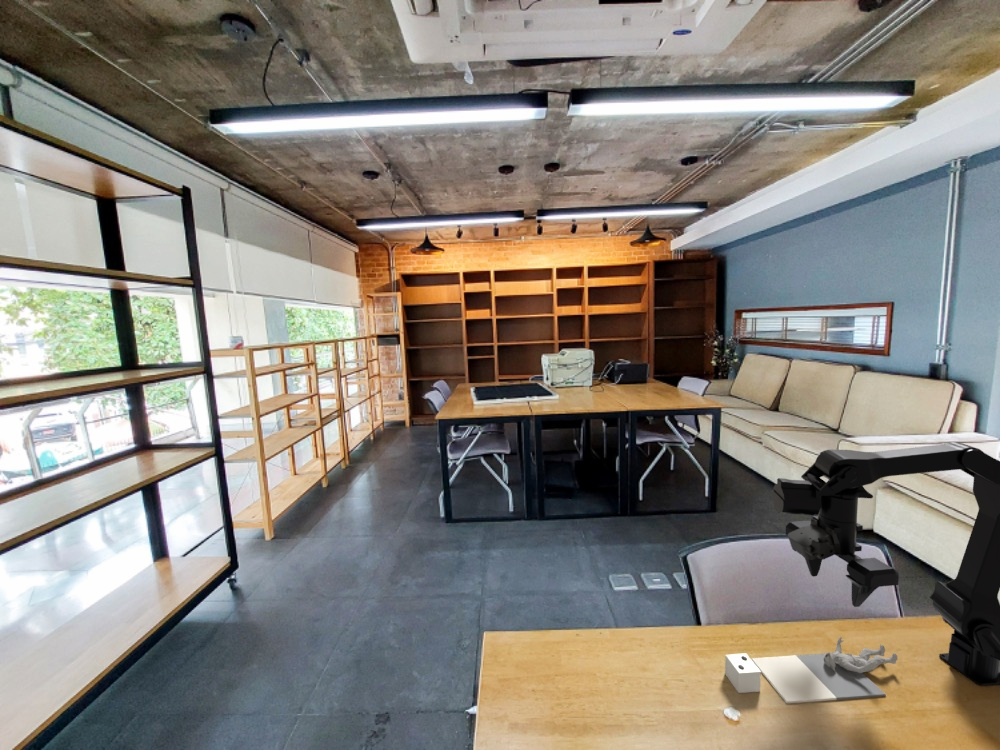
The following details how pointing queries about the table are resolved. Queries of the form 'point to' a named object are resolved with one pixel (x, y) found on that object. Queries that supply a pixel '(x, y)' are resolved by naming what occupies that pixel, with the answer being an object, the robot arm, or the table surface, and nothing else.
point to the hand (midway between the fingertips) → (833, 590)
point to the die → (742, 673)
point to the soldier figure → (858, 659)
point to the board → (814, 679)
